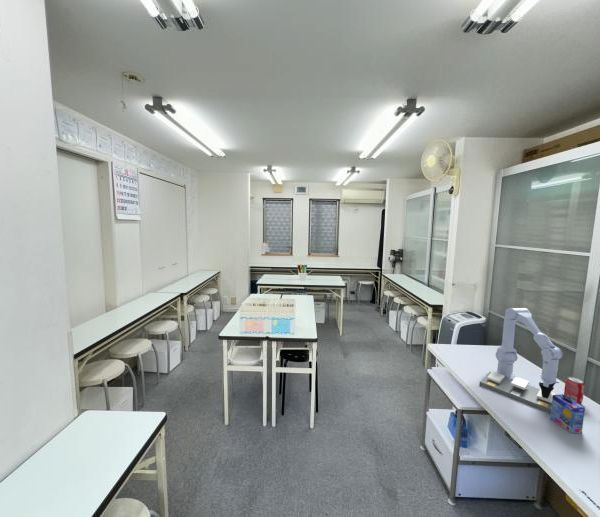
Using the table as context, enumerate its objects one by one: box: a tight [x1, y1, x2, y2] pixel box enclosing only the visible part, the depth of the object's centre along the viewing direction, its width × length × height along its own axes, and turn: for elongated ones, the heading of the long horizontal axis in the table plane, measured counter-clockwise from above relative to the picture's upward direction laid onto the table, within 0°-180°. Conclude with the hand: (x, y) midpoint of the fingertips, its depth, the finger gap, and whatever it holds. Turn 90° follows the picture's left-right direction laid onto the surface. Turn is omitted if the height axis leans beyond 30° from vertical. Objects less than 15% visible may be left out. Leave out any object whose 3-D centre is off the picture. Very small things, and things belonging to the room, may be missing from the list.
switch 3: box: [537, 388, 557, 403], centre depth 141 cm, size 10×6×1 cm, turn 130°
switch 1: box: [487, 371, 505, 384], centre depth 158 cm, size 10×6×1 cm, turn 130°
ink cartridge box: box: [549, 393, 586, 434], centre depth 124 cm, size 10×6×14 cm, turn 5°
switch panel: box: [479, 371, 552, 414], centre depth 149 cm, size 18×32×2 cm, turn 40°
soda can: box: [563, 376, 586, 405], centre depth 142 cm, size 7×7×12 cm
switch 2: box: [511, 376, 530, 390], centre depth 150 cm, size 10×6×1 cm, turn 130°
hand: (546, 394), depth 141 cm, fingers open, 7 cm apart
